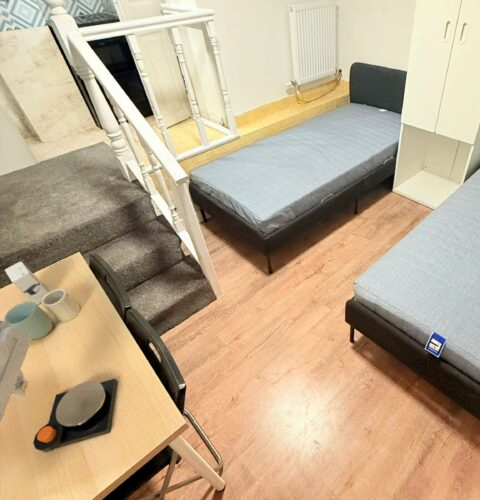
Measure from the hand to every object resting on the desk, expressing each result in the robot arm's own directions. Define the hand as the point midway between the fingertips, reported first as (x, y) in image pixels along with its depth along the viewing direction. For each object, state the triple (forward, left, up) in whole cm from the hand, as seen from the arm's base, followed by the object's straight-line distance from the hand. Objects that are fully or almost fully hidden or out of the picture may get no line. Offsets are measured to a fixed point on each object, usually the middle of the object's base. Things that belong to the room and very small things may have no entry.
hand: (23, 389), depth 74 cm
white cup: (-4, +32, -13) cm, 35 cm away
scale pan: (+8, -2, -10) cm, 12 cm away
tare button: (+2, -7, -10) cm, 12 cm away
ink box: (-15, +43, -13) cm, 48 cm away
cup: (-11, +27, -13) cm, 32 cm away
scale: (+7, -3, -13) cm, 15 cm away
